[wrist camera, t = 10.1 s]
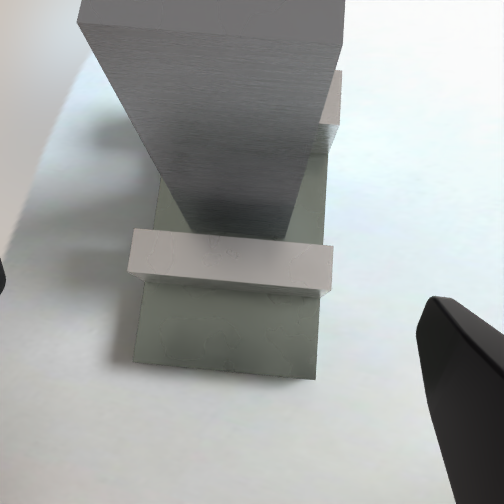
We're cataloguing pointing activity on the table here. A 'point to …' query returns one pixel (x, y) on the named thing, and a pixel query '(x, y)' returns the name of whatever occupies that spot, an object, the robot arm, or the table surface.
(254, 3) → the steel block
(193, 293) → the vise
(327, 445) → the table surface
